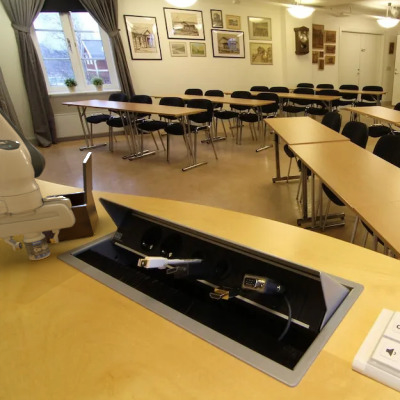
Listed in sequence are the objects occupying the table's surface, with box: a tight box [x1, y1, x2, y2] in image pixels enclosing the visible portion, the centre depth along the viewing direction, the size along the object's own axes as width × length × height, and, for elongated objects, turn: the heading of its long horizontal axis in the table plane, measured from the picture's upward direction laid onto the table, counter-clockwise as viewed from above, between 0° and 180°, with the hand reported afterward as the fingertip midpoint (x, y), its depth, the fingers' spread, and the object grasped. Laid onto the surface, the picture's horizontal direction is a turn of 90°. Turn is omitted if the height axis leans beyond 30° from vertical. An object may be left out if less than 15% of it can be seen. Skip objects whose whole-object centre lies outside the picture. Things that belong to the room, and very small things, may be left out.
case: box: [42, 191, 99, 245], centre depth 107 cm, size 13×16×11 cm
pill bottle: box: [22, 232, 51, 261], centre depth 91 cm, size 5×5×8 cm
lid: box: [82, 151, 94, 204], centre depth 105 cm, size 13×16×1 cm
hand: (37, 245), depth 92 cm, fingers open, 7 cm apart
